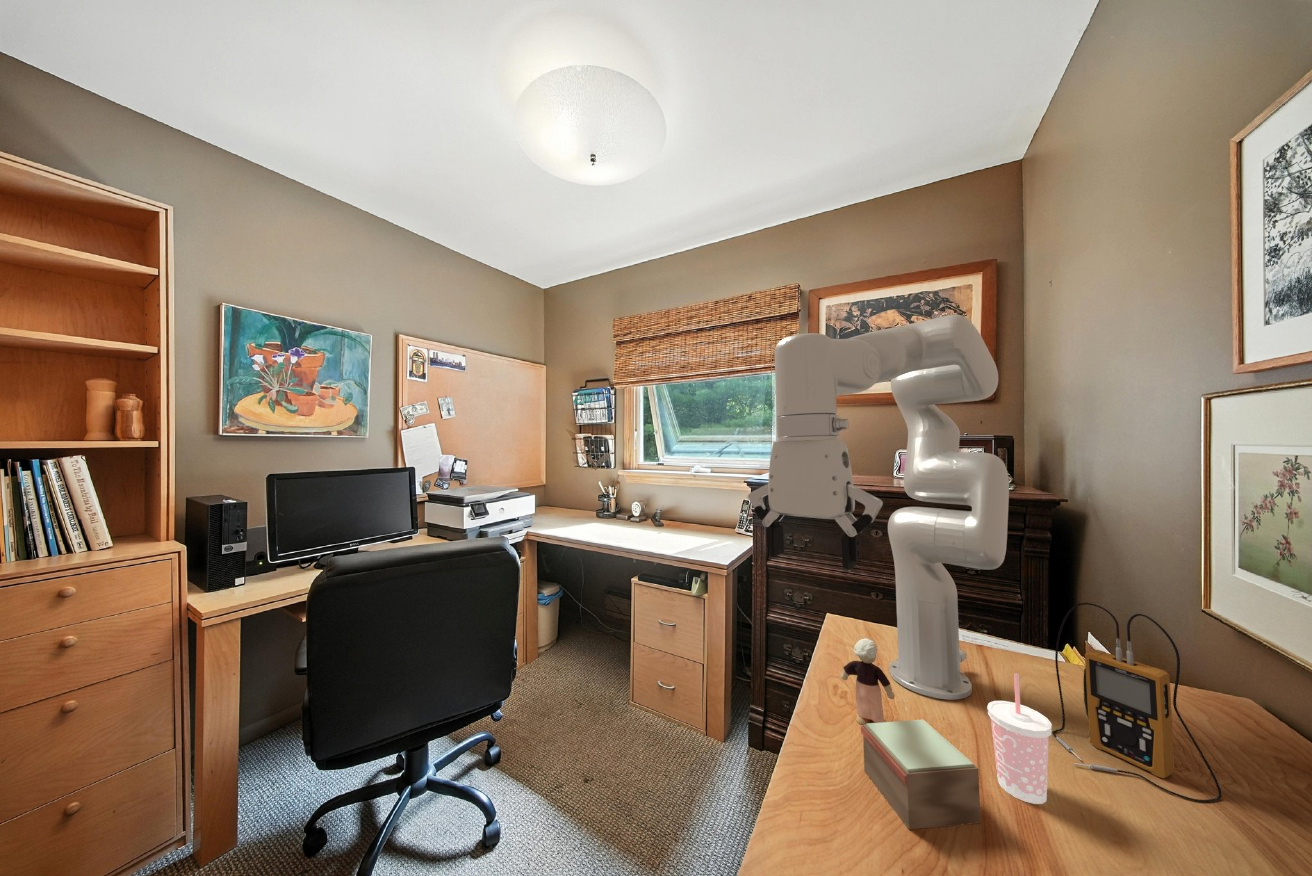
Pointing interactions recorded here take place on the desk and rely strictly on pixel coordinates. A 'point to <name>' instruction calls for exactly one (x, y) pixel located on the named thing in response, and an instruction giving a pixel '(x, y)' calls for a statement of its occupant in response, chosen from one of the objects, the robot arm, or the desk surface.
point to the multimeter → (1130, 709)
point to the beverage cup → (1020, 748)
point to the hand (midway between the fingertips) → (811, 560)
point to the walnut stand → (921, 774)
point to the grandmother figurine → (868, 683)
